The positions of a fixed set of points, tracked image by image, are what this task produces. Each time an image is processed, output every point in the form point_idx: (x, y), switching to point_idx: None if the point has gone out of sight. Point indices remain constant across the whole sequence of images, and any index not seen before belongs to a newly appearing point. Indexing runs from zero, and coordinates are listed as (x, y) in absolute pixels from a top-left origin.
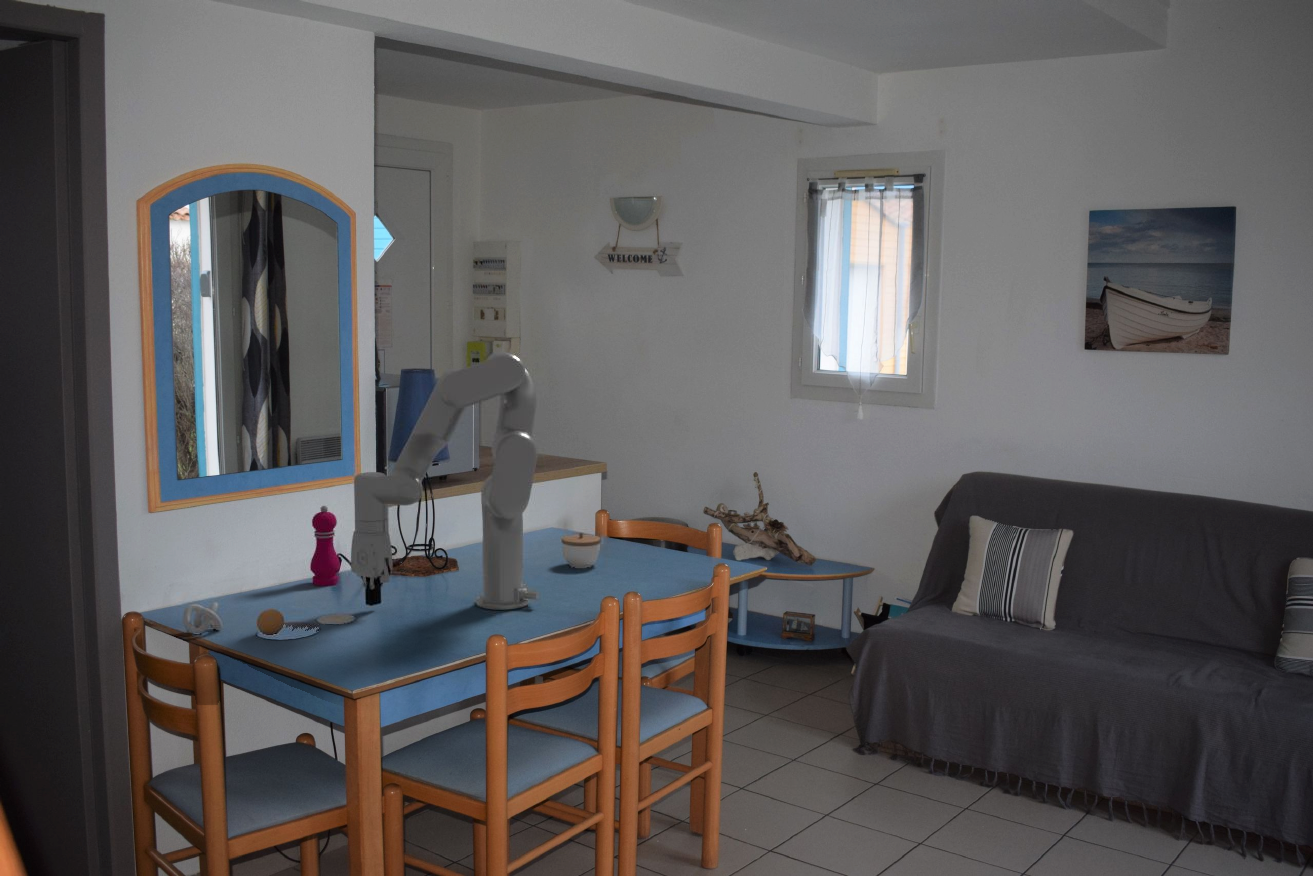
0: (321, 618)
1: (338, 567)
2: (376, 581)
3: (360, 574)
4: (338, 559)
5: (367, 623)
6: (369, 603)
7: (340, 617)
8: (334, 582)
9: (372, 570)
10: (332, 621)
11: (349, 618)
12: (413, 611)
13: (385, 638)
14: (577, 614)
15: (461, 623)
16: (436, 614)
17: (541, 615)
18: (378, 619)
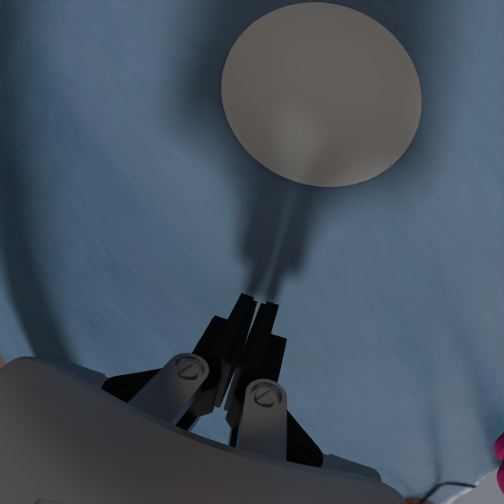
0: (398, 65)
1: (500, 474)
2: (127, 390)
3: (242, 455)
4: (502, 490)
5: (144, 125)
6: (241, 298)
7: (321, 120)
8: (501, 440)
9: (8, 405)
10: (302, 41)
11: (261, 126)
12: (135, 338)
13: (29, 62)
14: (5, 357)
15: (11, 271)
16: (76, 323)
17: (10, 348)
18: (147, 200)
